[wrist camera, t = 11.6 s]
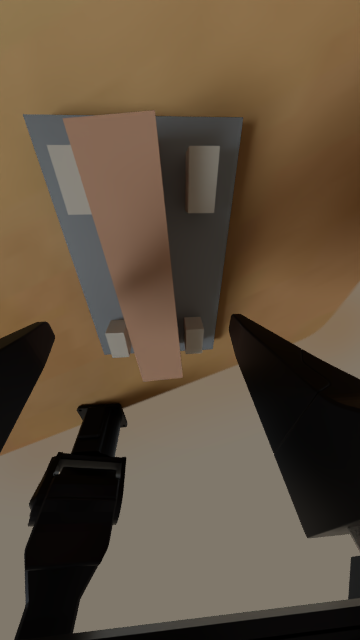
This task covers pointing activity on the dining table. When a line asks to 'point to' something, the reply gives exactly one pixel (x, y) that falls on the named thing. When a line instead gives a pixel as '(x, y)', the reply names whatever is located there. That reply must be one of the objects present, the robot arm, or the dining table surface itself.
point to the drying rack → (182, 220)
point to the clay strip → (132, 229)
